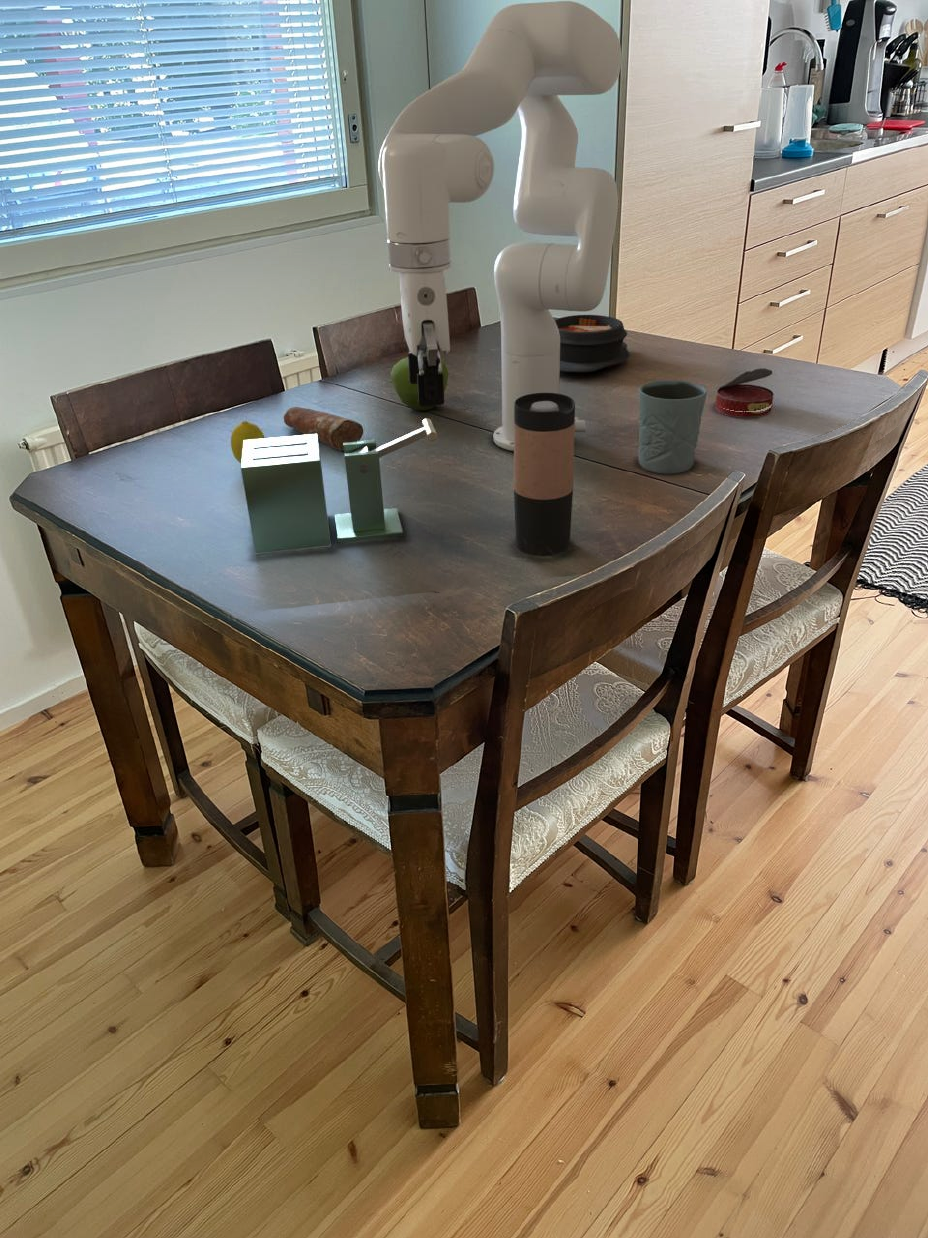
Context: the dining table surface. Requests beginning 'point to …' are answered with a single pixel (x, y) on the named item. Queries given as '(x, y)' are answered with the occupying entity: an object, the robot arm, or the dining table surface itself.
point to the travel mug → (543, 472)
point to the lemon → (244, 437)
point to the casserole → (591, 342)
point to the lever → (406, 439)
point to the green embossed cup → (669, 424)
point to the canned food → (745, 396)
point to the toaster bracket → (365, 498)
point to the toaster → (285, 494)
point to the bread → (324, 426)
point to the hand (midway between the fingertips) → (426, 393)
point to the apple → (408, 390)
